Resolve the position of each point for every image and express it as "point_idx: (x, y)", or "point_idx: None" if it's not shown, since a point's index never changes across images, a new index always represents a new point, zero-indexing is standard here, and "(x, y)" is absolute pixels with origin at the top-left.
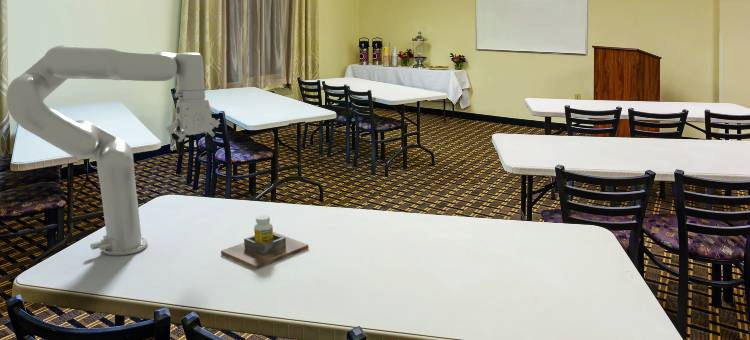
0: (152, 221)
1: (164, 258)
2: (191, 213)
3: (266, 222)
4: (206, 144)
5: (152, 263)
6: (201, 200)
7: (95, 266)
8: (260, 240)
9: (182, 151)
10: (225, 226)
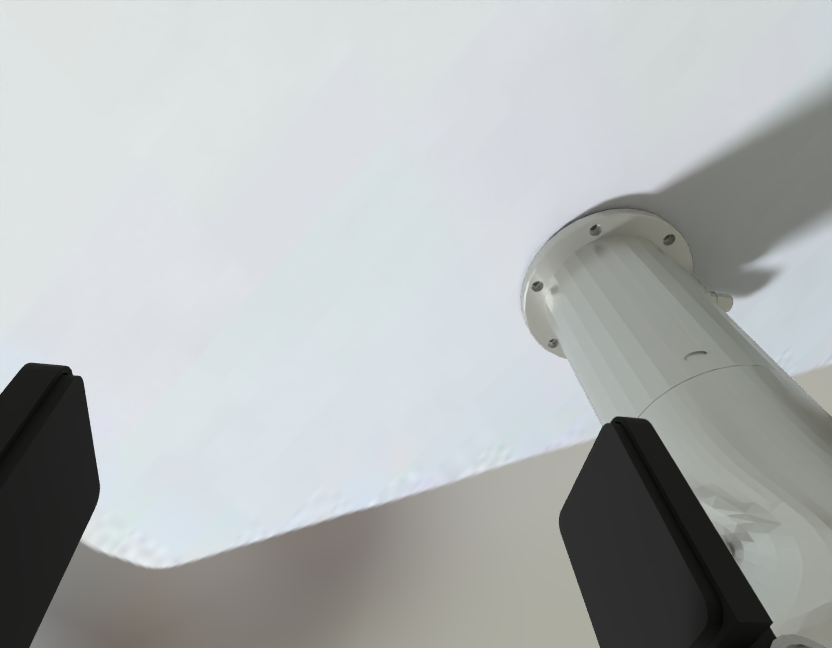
0: (347, 421)
1: (640, 46)
2: (179, 384)
3: None
4: (66, 528)
5: (707, 47)
6: None
7: (786, 227)
8: None
9: (666, 460)
10: (160, 123)
